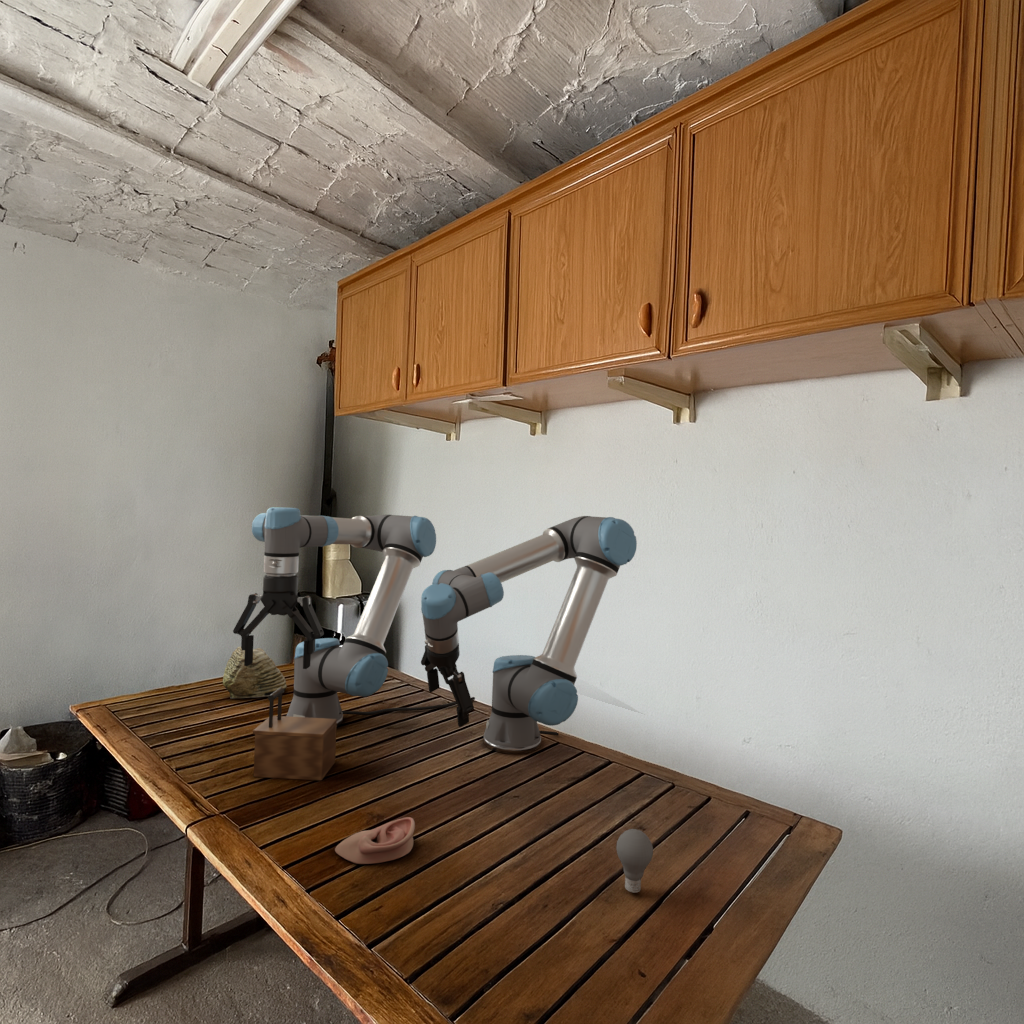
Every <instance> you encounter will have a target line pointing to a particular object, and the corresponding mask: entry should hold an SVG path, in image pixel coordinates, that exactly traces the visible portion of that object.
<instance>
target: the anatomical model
mask: <svg viewBox="0 0 1024 1024" xmlns="http://www.w3.org/2000/svg"><path fill="white" fill-rule="evenodd" d="M415 828H416V823H415V820H414V818H413V817H410V816H409V817H402V818H398V819H395V820H392V821H389V822H386V823H384V824H382V825H380V826H377V827H375V828H372V829H368V830H361V831H358V832H356V833H353V834H352V835H350V836H348V837H346V838H345V839H343V840H342V841H340V843H338V844H337V845H336V846H335V848H334V852H335V853H336V854H337V855H338V856H340V857H341V858H343V859H344V860H347V861H348V862H351V863H353V864H357V865H369V864H370V865H371V864H380V863H385V862H390V861H394V860H398V859H400V858H402V857H404V856H407V855H408V854H409V853H410V852H411V851H412V849H413V847H414V837H413V835H414V833H415Z"/></svg>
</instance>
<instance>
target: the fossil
mask: <svg viewBox="0 0 1024 1024" xmlns="http://www.w3.org/2000/svg"><path fill="white" fill-rule="evenodd" d="M244 659H245V650H242V649H241V646H238V647H237V648H236V649H235V650H233V651H232V653H231V656H230V657H229V659H228V660H227V663H226V666H225V668H224V671H223V675H222V676H223V677H222V685H223V687H224V688H225V690H226V691H228V693H229V698H230V699H250V698H264V697H268V696H269V695H270V694H272V693H273V692H274V691H276V690H277V689H279V688H280V687H282V688H283V689H284V692H285V691H286V689H287V687H288V686H287V680H286V678H285V676H284V674H283V673H282V672H281V669H279V668H278V667H277V665H276V663H275V662H274V660H273V659H272V658H271V657H270V656H269V655H268V654H267V653H266V652H265V650H264V649H263V648H260V647H258V648H253V663H252V664H250V665H248V666H244Z"/></svg>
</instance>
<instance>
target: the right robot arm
mask: <svg viewBox="0 0 1024 1024" xmlns="http://www.w3.org/2000/svg"><path fill="white" fill-rule="evenodd" d="M637 542H638V541H637V536H636V535H635V531H634V528H633V527H632V526H631V524H629V522H627V521H626V520H624V519H622V518H615V517H613V516H608V517H606V516H605V517H604V516H591V515H581V516H577V517H573V518H570V519H568V520H565V521H562V522H560V523H557V524H555V525H553V526H550V527H548V528H546V529H544V530H543V532H542V534H541V535H538V536H535V537H534V538H531V539H528V540H526V541H523V542H521V543H519V544H516V545H513V546H511V547H508V548H506V549H504V550H502V551H501V550H500V551H499V552H496V553H494V554H491V555H489V556H486V557H484V558H482V559H479V560H477V561H474V562H471V563H469V564H467V565H464V566H461V567H459V568H456V569H454V570H453V569H444V570H440V571H438V572H437V573H436V574H435V575H434V578H433V579H432V583H431V584H430V585H428V586H427V587H426V588H425V589H424V590H423V591H422V594H421V600H420V601H421V607H420V608H421V609H420V610H421V611H420V612H421V614H422V620H423V621H422V622H423V627H424V628H423V629H424V636H425V640H424V652H423V655H422V657H421V660H420V665H421V666H424V671H425V672H426V678H427V687H428V692H429V693H430V694H431V693H433V692H434V691H437V690H438V689H440V680H439V673H440V675H441V676H442V678H443V680H444V682H445V684H446V685H448V686H449V689H450V691H451V694H452V695H453V696H452V697H453V698H454V700H455V702H456V703H457V704H456V705H457V706H456V709H455V711H456V716H457V717H456V718H457V726H458V727H459V728H462V727H464V726H465V725H467V724H468V723H470V712H471V711H473V710H474V709H475V706H474V703H473V700H471V698H472V696H471V694H470V690H469V688H468V685H467V682H466V675H465V673H464V672H463V671H460V672H459V670H458V667H457V666H458V665H457V664H456V663H457V661H458V660H459V658H460V655H461V654H460V652H461V651H460V637H459V629H458V628H459V627H458V623H459V622H460V621H463V620H465V619H468V618H469V617H471V616H473V615H475V614H478V613H480V612H482V611H484V610H487V609H489V608H492V607H493V606H494V605H498V603H500V602H501V601H502V600H503V599H504V596H505V592H504V586H503V584H502V583H505V582H506V581H509V580H511V579H513V578H516V577H518V576H521V575H523V574H526V573H527V572H530V571H532V570H535V569H537V568H540V567H541V566H544V565H546V564H549V563H551V562H555V563H560V562H563V561H565V560H569V559H574V562H575V564H576V569H575V571H574V574H573V577H572V579H571V581H570V584H569V586H568V589H567V591H566V594H565V596H564V598H563V601H562V604H561V606H560V609H559V611H558V614H557V616H556V619H555V621H554V623H553V626H552V629H551V631H550V634H549V636H548V638H547V641H546V644H545V646H544V649H543V650H542V653H541V654H539V655H537V656H534V655H529V654H528V655H527V654H512V655H503V656H499V657H497V658H496V659H495V660H494V661H493V666H492V667H493V668H492V691H491V713H490V716H489V718H488V719H486V722H485V723H486V724H485V726H486V727H485V729H484V732H483V741H482V743H483V745H484V746H485V747H486V748H487V749H489V750H492V751H494V752H498V753H502V754H507V755H508V754H509V755H520V754H521V755H522V754H528V753H532V752H534V751H537V750H538V749H540V747H541V746H542V745H541V744H542V735H549V736H559V732H558V731H550V730H540V727H539V724H538V723H540V724H543V725H545V726H549V727H550V726H551V727H553V726H558V725H561V724H562V723H565V722H566V721H567V720H568V719H569V718H571V716H572V715H573V714H574V712H575V711H576V708H577V706H578V703H579V702H578V701H579V695H578V689H577V688H576V686H575V683H576V681H577V678H578V675H577V673H576V670H575V667H576V664H577V661H578V659H579V656H580V653H581V651H582V648H583V647H584V643H585V641H586V638H587V636H588V633H589V630H590V628H591V626H592V623H593V620H594V618H595V616H596V613H597V610H598V607H599V605H600V603H601V599H602V597H603V595H604V592H605V589H606V587H607V585H608V581H609V580H610V579H612V578H614V577H616V576H617V575H618V573H619V570H620V568H621V566H624V565H627V564H628V563H630V562H631V561H632V560H633V558H634V557H635V555H636V552H637V544H638V543H637ZM450 677H452V678H450ZM557 732H558V733H557Z"/></svg>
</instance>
